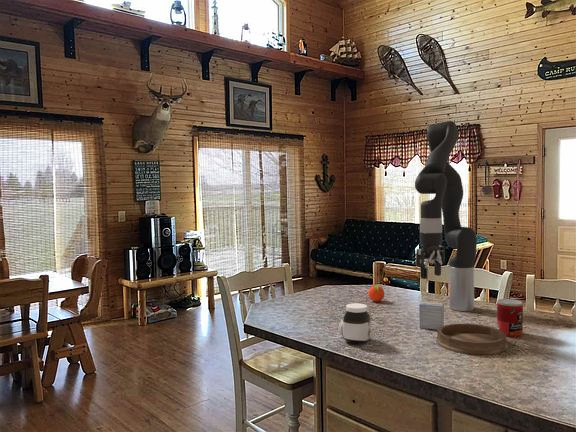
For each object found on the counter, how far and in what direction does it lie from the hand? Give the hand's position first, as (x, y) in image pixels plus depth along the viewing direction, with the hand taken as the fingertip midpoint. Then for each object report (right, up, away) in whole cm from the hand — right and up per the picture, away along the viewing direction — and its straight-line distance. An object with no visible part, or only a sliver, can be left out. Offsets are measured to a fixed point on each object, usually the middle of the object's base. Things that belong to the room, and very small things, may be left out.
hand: (430, 277), depth 168 cm
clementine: (-11, -16, +41) cm, 45 cm away
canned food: (+24, -18, -8) cm, 31 cm away
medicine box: (+1, -18, +1) cm, 18 cm away
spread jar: (-29, -20, -10) cm, 36 cm away
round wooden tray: (+8, -19, -17) cm, 26 cm away
